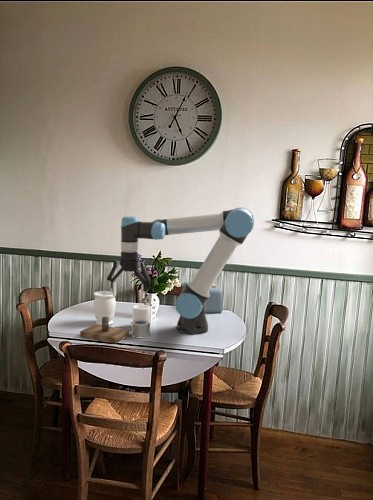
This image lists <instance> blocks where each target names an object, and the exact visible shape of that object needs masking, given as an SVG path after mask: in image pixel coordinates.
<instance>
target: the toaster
mask: <svg viewBox="0 0 373 500" xmlns="http://www.w3.org/2000/svg"><path fill="white" fill-rule="evenodd" d="M209 294H210V297H209V298H208V300H207V302H206V312H205V314H212V313H213V314H215V313H217V314H218V313H222V312H223V310H224V305H223V291H222V290H221V288H219V286H218V285H217V284H215V283H214V284H213V285H212V287H211V289H210V290H209Z"/></svg>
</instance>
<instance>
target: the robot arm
mask: <svg viewBox="0 0 373 500" xmlns="http://www.w3.org/2000/svg"><path fill="white" fill-rule="evenodd" d="M254 219H255V218H254V215H253V214H252V212H251V211H250V210H249V209H247V208H245V207H235V208H233V209H229V210H222V211H221V212H220V213H214V214H204V215H203V214H201V215H194V216H193V215H192V216H184V217H174V218H168V219H166V218H164V219H159V218H157V219H154V220H153V221H152V220H151V221H139V217H137V216H123V217H122V218H121V225H120V231H121V233H120V235H121V238H120V250H121V251H120V261H119V260H118V259H115V260H114V261H113V266H112V268H111V270H110V272H109V274H108V275H107V278H106V280H107V281H110V289H111V290H112V292H113V296H115V297H116V296H117V279H118V278H119V276H120V275H121V274H122V273H123V272H126V273H127V272H130V273H131V272H132V273H134V275H136V277H137V278H138V279H139V281H141V283H142V284H141V288H140V289H141V291H140V292H141V293H140V294H141V295H140V297H141V298H140V299H141V300H144V299H145V295H146V294H145V293H146V292H147V290H148V285H149V284H151V282H152V280H151V278H150V275H149V273H148V271H147V268H146V267H145V266H146V265H145V262H144V261H142V262H139V261H138V258H139V256H138V254H139V253H138V247H139V239H146V240H155V241H157V240H164V239H165V236H170V235H180V234H193V233H203V232H213V231H218V232H219V236H218V239H217V240H216V241H215V243H214V244H213V246H212V248H211V250H210V251H209V253H208V254H207V256H206V258H205V260H204V261H203V263H202V265H201V266H200V268H199V269H198V271H197V273H196V274H195V276H194V278H193V279H192V280H191V281H184V282H182V286H181V288H182V289H181V293H180V294H179V296H178V297H177V298H176V300H175V309H176V312H177V313H178V315H179V317H178V321H177V323H176V330H177V331H179V332H180V331H181V333H183V332H184V334H188V333H189V334H190V335H199V334H200V335H201V334H206V333H207V332H208V331H209V323H208V319H207V315H206V313H205V312H206V302H207V300H208V298H209V297H210V294H209V290H210V289H211V287H212V285H213V284H215V283H216V280H217V279H218V277H219V276H220V274H221V272H222V271H223V269H224V267H225V266H226V264H227V263H228V262H229V259H230V258H231V256H232V255H233V253H234V251H235V250H236V248H237V247H238V246H240V245H243V243H244V242H245V240H246V239H247V237H248V236H249V234H250V233H251V232H252V230H253V229H254V225H255V220H254ZM118 266H120V269H119V270H118V271H117V272H116V270H117V268H118ZM138 267H139V268H140V270H141V271H140V270H139V268H138ZM115 272H116V274H115ZM141 272H142V273H141ZM113 275H114V276H113Z"/></svg>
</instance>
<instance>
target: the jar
mask: <svg viewBox="0 0 373 500" xmlns="http://www.w3.org/2000/svg"><path fill="white" fill-rule="evenodd" d="M93 294H94V300H93V311H94V316H95V317H94V318H95V320H96V321H95V324H98V325H102V317H109V326H110V325H112V324H114V321H113V319H114V317H115V312H116V306H117V304H116V303H117V302H116V296H113V290H112V291H111V290H100V291H95V292H94V293H93Z"/></svg>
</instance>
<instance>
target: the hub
mask: <svg viewBox="0 0 373 500" xmlns="http://www.w3.org/2000/svg"><path fill="white" fill-rule="evenodd" d="M150 331H151V321H150V322H149V321H146V320H134V321H133V320H132V321H131V328H130V335H131V336H132V337H133V336H134V337H133V338H136V337H147V336H148V337H150V336H149V335H151V334H150V333H151V332H150ZM148 337H147V338H148Z"/></svg>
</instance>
